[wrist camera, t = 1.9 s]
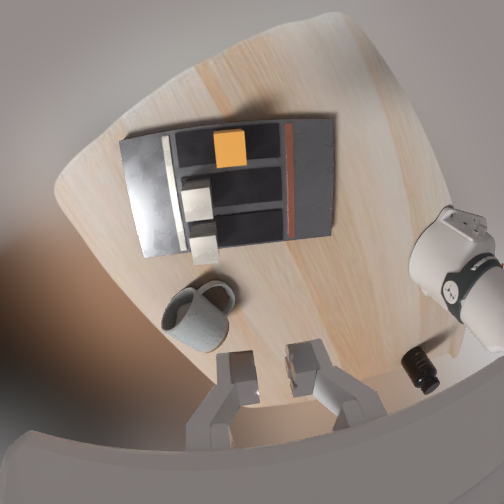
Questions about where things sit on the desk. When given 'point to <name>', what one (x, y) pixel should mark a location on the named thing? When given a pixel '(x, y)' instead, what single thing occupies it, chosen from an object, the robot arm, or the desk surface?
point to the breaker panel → (230, 187)
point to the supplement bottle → (420, 370)
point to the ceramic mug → (198, 318)
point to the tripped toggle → (230, 148)
